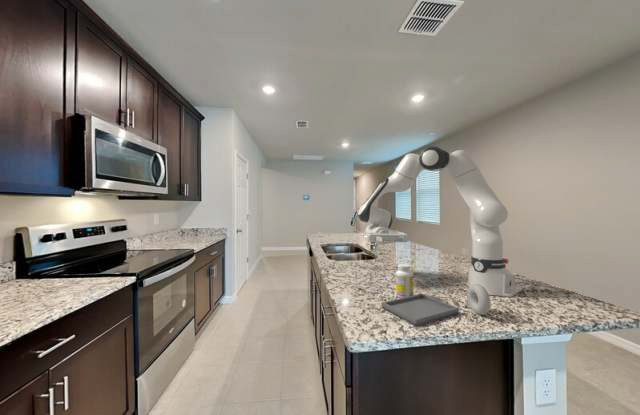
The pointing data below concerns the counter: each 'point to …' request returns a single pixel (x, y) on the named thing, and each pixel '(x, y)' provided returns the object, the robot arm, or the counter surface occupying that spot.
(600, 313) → the counter surface
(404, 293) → the supplement bottle
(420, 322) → the drying tray
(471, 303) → the donut
